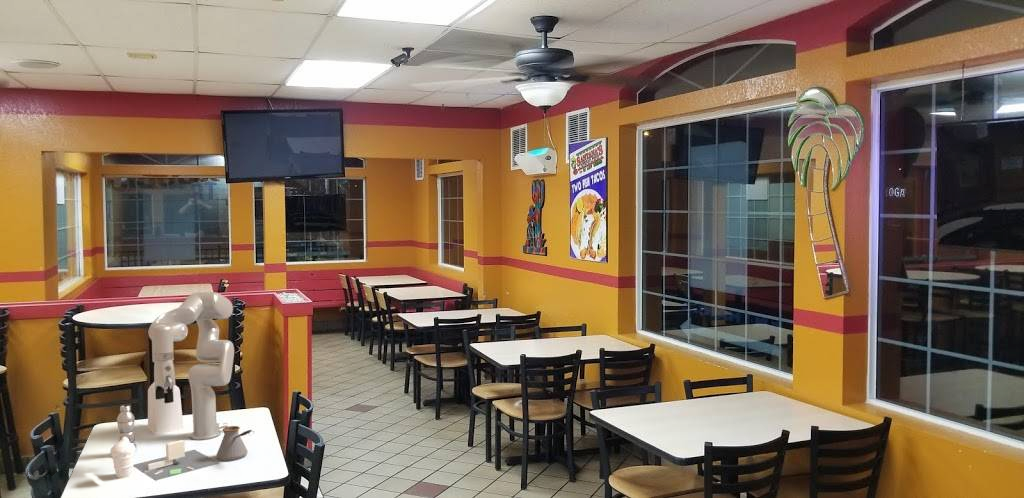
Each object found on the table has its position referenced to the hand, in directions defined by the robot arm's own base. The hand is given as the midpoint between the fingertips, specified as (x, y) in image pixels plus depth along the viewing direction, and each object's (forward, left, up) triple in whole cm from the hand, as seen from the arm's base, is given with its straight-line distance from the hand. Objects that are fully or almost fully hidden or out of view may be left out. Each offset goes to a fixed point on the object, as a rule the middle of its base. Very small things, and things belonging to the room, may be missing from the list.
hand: (164, 400), depth 293 cm
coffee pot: (-19, +21, -25) cm, 38 cm away
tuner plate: (0, +8, -25) cm, 26 cm away
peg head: (+3, +8, -23) cm, 25 cm away
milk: (-17, -48, -25) cm, 57 cm away
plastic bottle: (+7, -24, -25) cm, 36 cm away
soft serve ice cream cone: (+18, +6, -25) cm, 31 cm away
